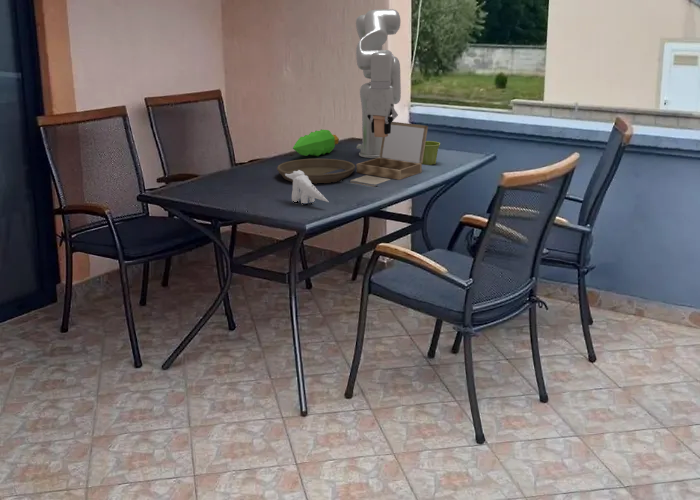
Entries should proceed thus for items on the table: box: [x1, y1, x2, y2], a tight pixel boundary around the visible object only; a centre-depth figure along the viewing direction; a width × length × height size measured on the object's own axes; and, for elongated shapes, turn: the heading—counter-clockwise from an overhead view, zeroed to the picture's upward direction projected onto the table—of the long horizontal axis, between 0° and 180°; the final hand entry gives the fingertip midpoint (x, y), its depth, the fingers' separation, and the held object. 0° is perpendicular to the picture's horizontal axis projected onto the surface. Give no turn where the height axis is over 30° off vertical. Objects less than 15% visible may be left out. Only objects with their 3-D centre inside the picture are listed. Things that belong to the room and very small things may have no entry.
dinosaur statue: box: [285, 170, 330, 204], centre depth 307 cm, size 7×24×11 cm, turn 43°
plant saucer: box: [276, 158, 356, 185], centre depth 348 cm, size 31×31×5 cm
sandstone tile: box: [350, 174, 392, 188], centre depth 337 cm, size 12×10×1 cm
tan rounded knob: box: [373, 116, 389, 137], centre depth 337 cm, size 6×6×8 cm
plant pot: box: [420, 140, 441, 166], centre depth 366 cm, size 9×9×9 cm
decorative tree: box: [292, 129, 340, 157], centre depth 383 cm, size 11×12×30 cm
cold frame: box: [355, 157, 423, 181], centre depth 348 cm, size 21×15×4 cm
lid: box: [380, 121, 429, 164], centre depth 352 cm, size 21×15×1 cm
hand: (381, 132), depth 338 cm, fingers closed on tan rounded knob, 5 cm apart
